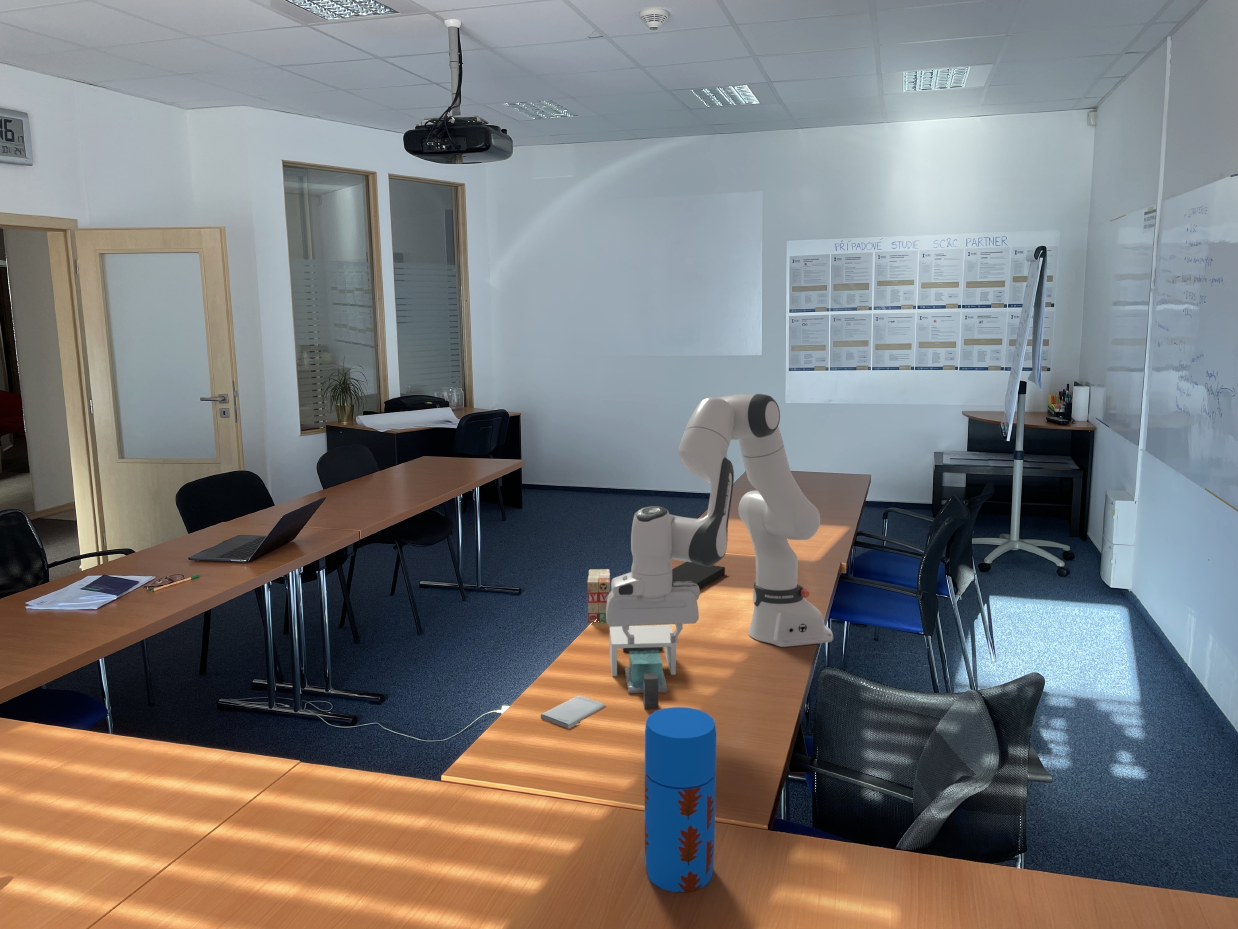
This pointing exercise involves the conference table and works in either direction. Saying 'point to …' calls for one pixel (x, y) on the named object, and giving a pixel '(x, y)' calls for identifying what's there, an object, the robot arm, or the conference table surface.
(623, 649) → the tray
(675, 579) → the external hard drive
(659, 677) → the teal block with handle
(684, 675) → the conference table surface
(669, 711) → the thermos
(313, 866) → the conference table surface
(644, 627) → the tunnel
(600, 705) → the hard drive
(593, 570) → the stack of blocks
